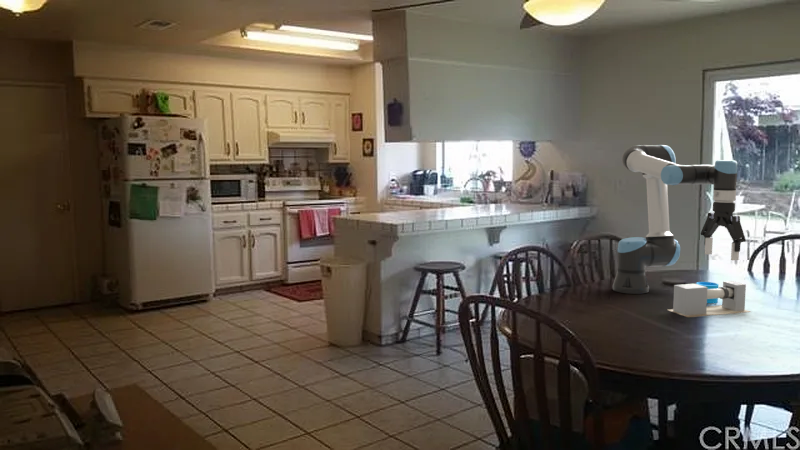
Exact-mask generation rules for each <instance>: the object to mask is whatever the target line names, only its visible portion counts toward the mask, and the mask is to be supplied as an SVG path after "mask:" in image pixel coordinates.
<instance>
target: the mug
mask: <svg viewBox="0 0 800 450" xmlns="http://www.w3.org/2000/svg"><path fill="white" fill-rule="evenodd" d="M695 284H697V285H701V286H705V287H708V288H707V289H718V288H719V283H716V282H712V281H697V282H695ZM718 301H719V298H713V299H707V304H717V303H718Z"/></svg>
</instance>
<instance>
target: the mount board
mask: <svg viewBox="0 0 800 450" xmlns="http://www.w3.org/2000/svg"><path fill="white" fill-rule="evenodd" d="M668 311H669V312H672V313H675V314H677V315H680V316H684V317H686V318H697V317H708V316H710V317H711V316H718V315H719V316H720V315H732V314H744V313H752V311H750V310H748V309H745V311H733V310H730V309H727V308H724V307H722V304H720V305H709V306H708V305H707V311H706V314H697V315H683V314H680V313H677V312H675V311H673V308H671V309H668Z"/></svg>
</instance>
